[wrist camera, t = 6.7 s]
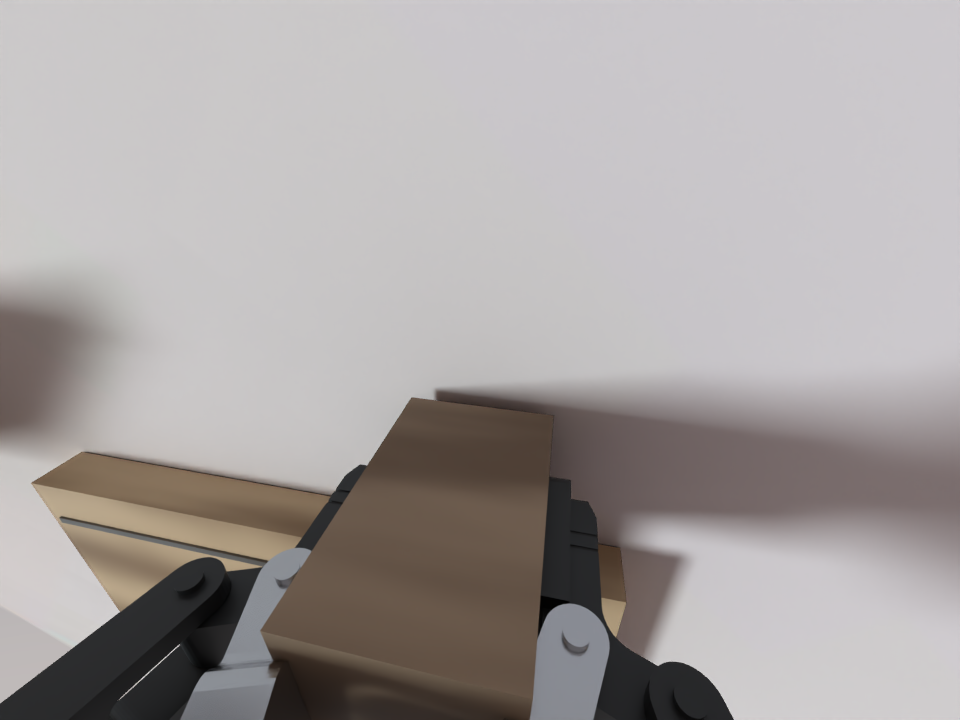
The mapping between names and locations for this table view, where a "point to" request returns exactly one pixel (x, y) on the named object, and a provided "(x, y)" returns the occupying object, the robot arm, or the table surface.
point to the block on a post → (427, 575)
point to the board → (198, 524)
